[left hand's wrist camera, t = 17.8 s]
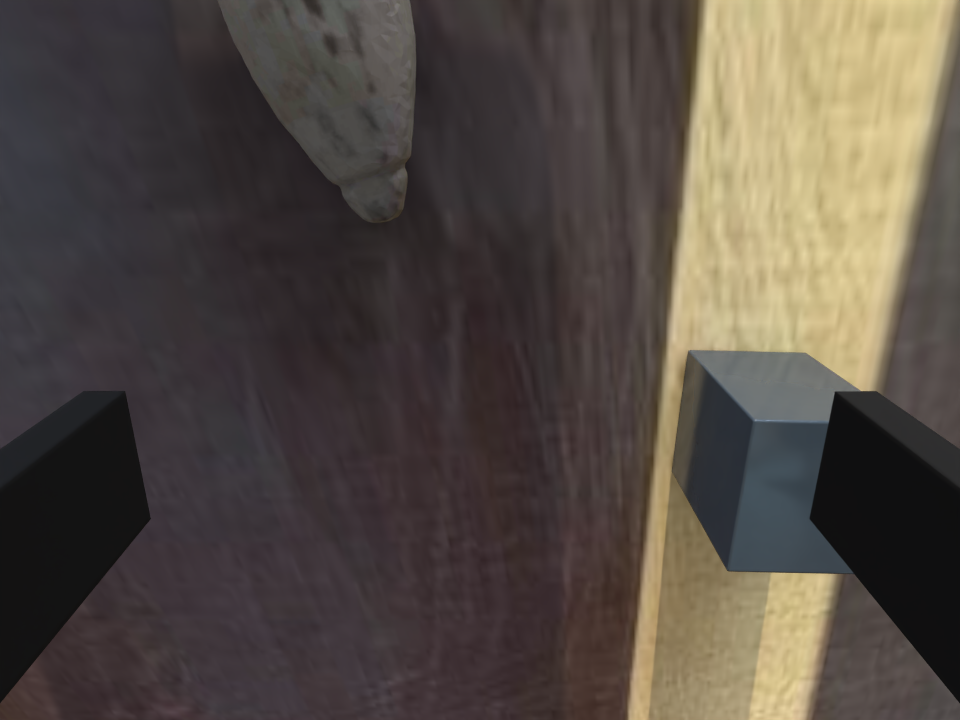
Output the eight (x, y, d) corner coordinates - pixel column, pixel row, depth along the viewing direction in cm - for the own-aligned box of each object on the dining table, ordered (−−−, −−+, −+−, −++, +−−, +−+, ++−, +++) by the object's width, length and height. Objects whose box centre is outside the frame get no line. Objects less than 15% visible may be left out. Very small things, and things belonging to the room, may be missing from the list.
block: (671, 472, 30) (726, 572, 23) (687, 349, 28) (753, 419, 21) (782, 474, 30) (870, 575, 23) (806, 352, 28) (910, 423, 21)
